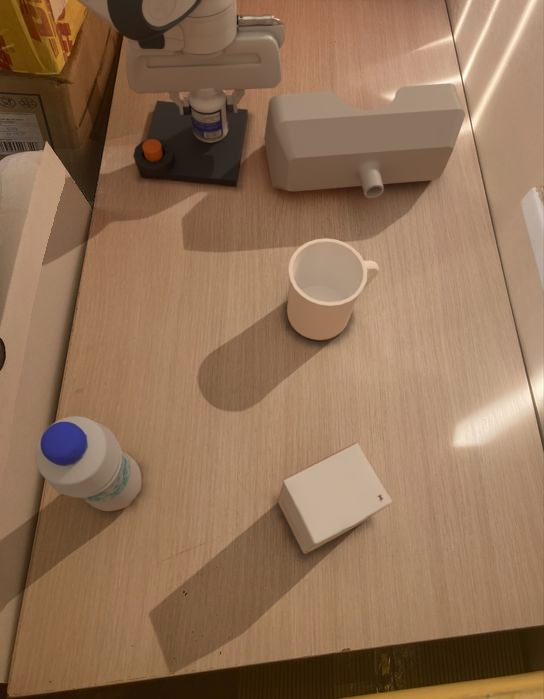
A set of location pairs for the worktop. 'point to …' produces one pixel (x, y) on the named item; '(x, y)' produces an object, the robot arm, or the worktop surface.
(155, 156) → the button
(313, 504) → the small box
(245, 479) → the worktop surface
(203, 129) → the pill bottle
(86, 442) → the bottle
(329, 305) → the mug
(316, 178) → the tank
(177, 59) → the robot arm
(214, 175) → the scale
